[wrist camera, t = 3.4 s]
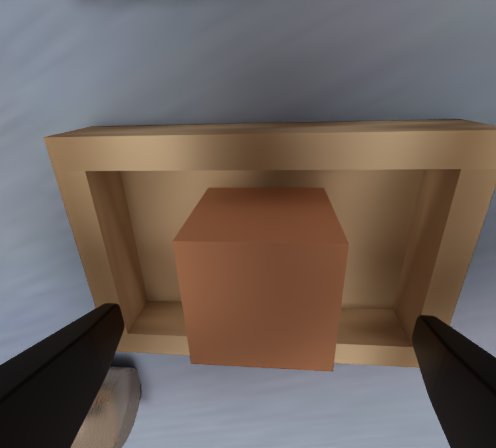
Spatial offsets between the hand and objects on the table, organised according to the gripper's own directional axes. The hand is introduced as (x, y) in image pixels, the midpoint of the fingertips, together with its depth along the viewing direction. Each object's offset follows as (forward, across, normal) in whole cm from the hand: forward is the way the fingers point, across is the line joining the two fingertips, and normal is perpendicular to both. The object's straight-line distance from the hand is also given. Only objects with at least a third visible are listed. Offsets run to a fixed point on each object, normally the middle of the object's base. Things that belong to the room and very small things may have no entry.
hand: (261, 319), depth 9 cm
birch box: (+6, 0, 0) cm, 6 cm away
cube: (+5, 0, 0) cm, 5 cm away
